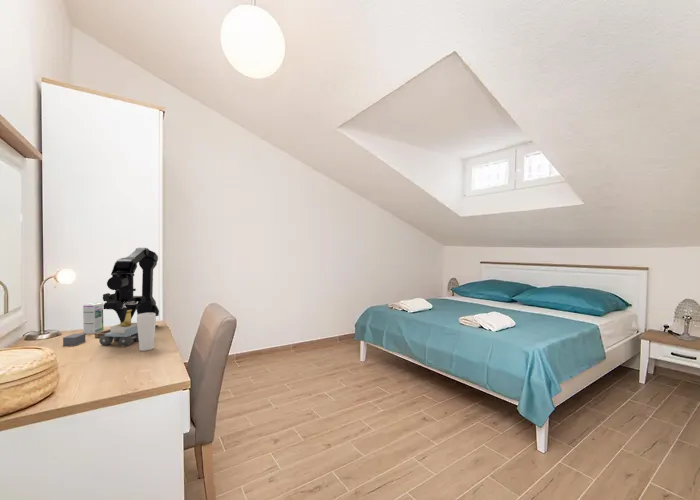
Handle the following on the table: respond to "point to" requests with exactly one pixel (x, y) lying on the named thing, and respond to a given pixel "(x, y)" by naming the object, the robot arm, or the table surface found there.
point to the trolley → (120, 337)
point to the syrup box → (93, 318)
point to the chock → (73, 339)
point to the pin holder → (101, 333)
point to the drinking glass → (146, 330)
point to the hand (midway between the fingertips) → (125, 321)
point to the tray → (121, 328)
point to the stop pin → (126, 319)
